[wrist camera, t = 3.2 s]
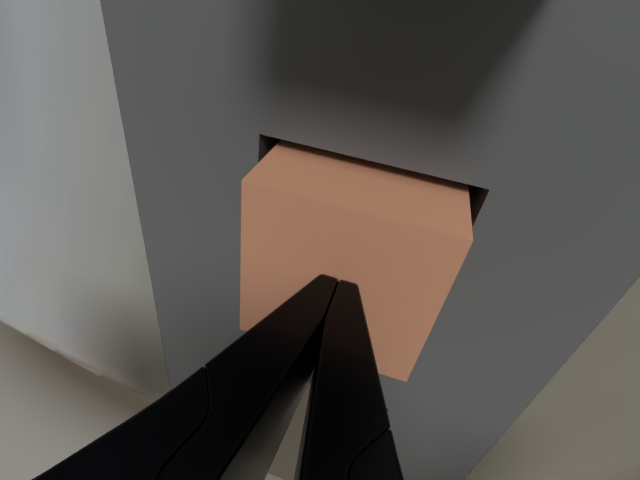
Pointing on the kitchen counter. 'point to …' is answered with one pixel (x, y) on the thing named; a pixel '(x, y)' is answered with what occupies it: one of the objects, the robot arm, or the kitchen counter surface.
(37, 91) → the kitchen counter surface
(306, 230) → the terracotta button
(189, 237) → the button board
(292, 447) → the cream button
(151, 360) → the kitchen counter surface
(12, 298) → the kitchen counter surface
